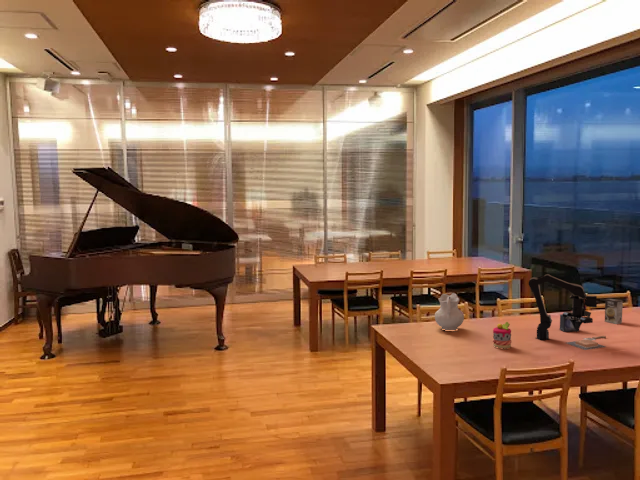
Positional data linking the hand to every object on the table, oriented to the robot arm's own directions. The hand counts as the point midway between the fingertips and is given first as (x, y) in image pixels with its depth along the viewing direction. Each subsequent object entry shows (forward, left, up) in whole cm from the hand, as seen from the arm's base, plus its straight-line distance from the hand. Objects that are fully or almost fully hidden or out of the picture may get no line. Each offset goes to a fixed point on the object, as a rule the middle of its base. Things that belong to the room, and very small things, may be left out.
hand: (576, 331), depth 323 cm
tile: (0, -4, -6) cm, 7 cm away
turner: (+15, +2, -7) cm, 17 cm away
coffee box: (+58, +29, -8) cm, 65 cm away
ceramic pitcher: (-54, +57, -7) cm, 78 cm away
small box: (+16, +24, -8) cm, 30 cm away
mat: (0, -6, -7) cm, 10 cm away
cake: (-46, +11, -8) cm, 48 cm away
